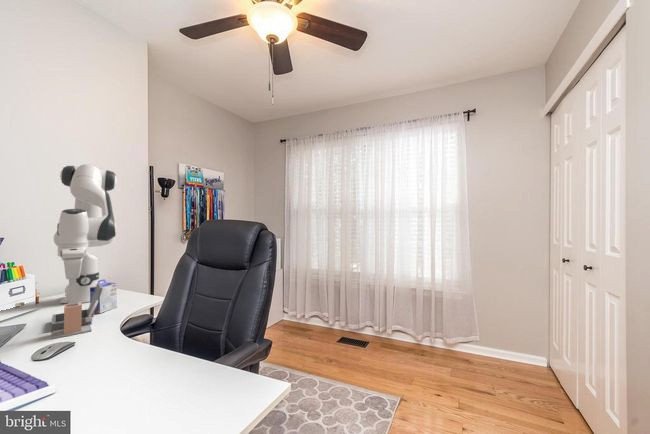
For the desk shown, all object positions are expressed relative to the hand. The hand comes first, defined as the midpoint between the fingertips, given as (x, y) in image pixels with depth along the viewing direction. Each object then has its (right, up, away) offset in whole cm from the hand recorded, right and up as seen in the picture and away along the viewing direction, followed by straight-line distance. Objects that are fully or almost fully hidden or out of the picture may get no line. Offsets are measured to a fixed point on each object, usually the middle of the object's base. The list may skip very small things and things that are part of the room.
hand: (72, 286), depth 110 cm
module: (0, -17, 0) cm, 17 cm away
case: (-6, -18, +9) cm, 21 cm away
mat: (0, -18, 0) cm, 18 cm away
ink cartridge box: (-8, -18, +25) cm, 32 cm away
